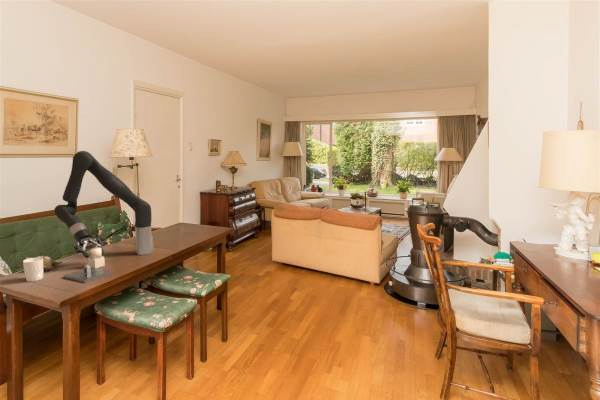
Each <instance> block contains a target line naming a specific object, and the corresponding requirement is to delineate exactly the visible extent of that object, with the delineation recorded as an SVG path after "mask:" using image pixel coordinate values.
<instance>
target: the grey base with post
mask: <svg viewBox="0 0 600 400" xmlns="http://www.w3.org/2000/svg"><path fill="white" fill-rule="evenodd" d="M84 265H85V266H83V268H82V269H79V270H76V271H73V272H70V273H65V274H63V279H67V280H72V281H75V282H80V283H83V284H84V283H88V282H89V283H90V282H92V281H94V280H97V279H100V278H103V277H105V276H109V275H111V274H112V271H111V270H109V269H108V270H107V269H102V268H100V267H98V268H94V267H90V266H89V264H88V263H87V264H84Z"/></svg>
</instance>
